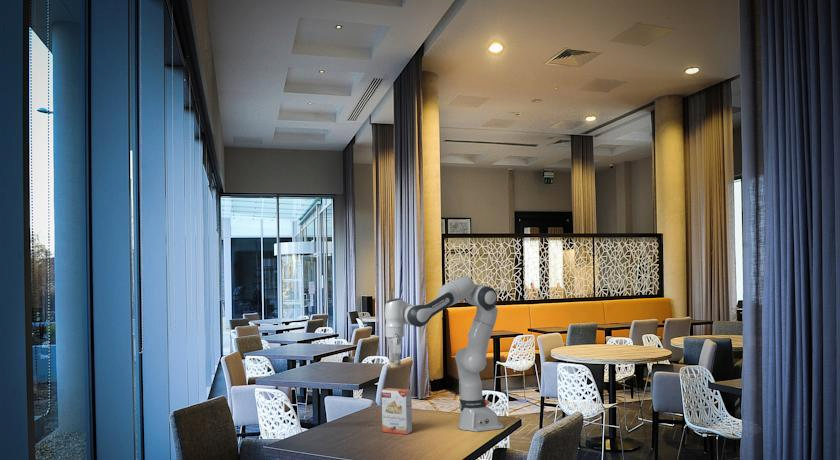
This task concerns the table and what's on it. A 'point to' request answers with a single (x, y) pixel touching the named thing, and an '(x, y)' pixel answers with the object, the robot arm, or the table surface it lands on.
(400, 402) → the cracker box
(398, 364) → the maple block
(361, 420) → the table surface
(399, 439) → the table surface
